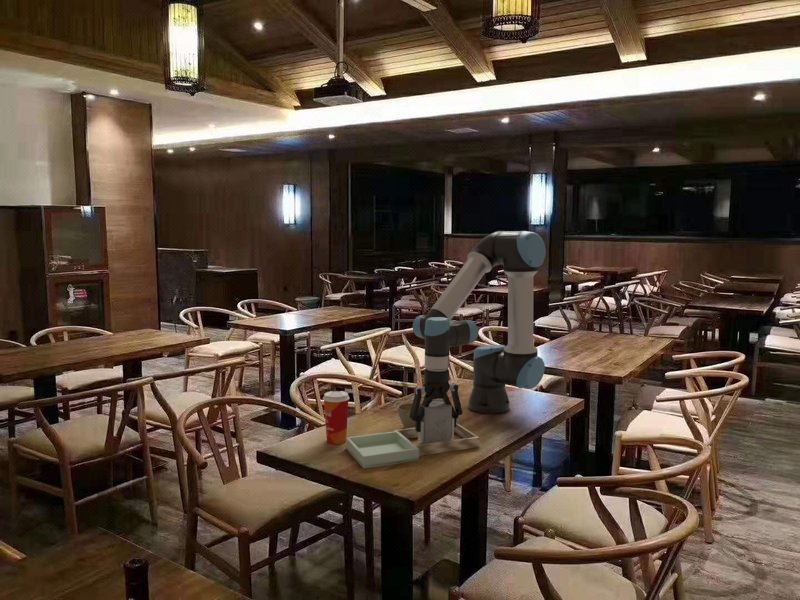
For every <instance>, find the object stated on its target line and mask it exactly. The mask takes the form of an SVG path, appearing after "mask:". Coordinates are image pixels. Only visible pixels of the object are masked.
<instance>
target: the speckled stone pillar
mask: <svg viewBox="0 0 800 600" xmlns="http://www.w3.org/2000/svg"><path fill="white" fill-rule="evenodd" d="M420 404H422V402H420ZM421 406H422V405H421ZM452 406H453V404H452V403H451V405H447V404H446V403H444V401H443V399H441V400H440V399H434V400H432V402H431V403H430V404H429V407H424V406H422V407H424V408H425V415H424V417H423V419H422V421H423V422H424V443H421V442H419V443H420V445H421V444H428V443H436V442H443V441H450V440H452V439H451V423H452Z"/></svg>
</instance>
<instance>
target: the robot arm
mask: <svg viewBox="0 0 800 600" xmlns="http://www.w3.org/2000/svg"><path fill="white" fill-rule="evenodd" d="M546 252H547V250H546V244H545V242H544V240H543V238H542V237H541V236H540V235H539V233H536V232H533V231H527V230H518V231H517V230H513V231H512V230H511V231H509V230H507V231H506V230H497V231H494V232H491V233H490V234H488V235H487V236H486V235H485V236H484V237H483V238H482V239H481V240H480V241H478V243H476V244H475V246H474V247H473V248H472V249H471V250H470V252H469V253H468V254H467V258H466V259H467V260H466V261H465V263H464V264H463V265H462V267H461V268H460V269H459V271H458V272H457V273H456V275H455V276H454V278H452V280H451V282H449V284H448V285H447V287H446V288H445V290H444V291H443V292H442V294H440V296H439V297H438V299H437V300H436V301H435V303H434V304H433V305H432V307H431V308H430V309H429V311H428V312H427V313H426V314H422V315H421V314H420V315H417V316H416V317H415V319H414V320H413V323H412V331H413V333H414V335H415V336H416V337H418V338H421V339H423V340H424V375H423V377H424V384H423V386H421V387H417V386H416V387H414V396H413V401H412V403H413V404H412V408H411V412H410V416H409V417H410V419H412V420H413V421H415V430H416V431H417V432H418V437H417V442H419V443H420V442H421V443H424V422H423V421H422V419H423V417H424V415H425V408H424V407H429V404H430V403H431V402H432V400H440V399H441V400H442V401H444V403H446V404H447V405H451V404H452V402H451V400H450V397H449V395H448V391H450V393H451V398H452V401H453V405H452V423H451V440H455V432H454V427H456V425H457V422H458V421H457V419H458V418H459V416H462V415H463V408H462V404H461V401H460V395H459V385H458V384H457V383H454V382H453V383H451V384H450V383H449V381H450V369H449V368H450V352H451V351H450V348H453V347H458V346H467V345H469V344H472V343H474V342H475V341H476V340H477V339H478V336H479V329H478V326H477V325H476V323H475V322H474V321H472V319H471V320H470V319H467V320H466V319H463V320H453V318H454V316H455V315H456V314H457V312H458V311H459V309H460V308H461V307H462V305H463V304H464V302H465V301H466V300H467V299H468V297H469V296H470V294H471V293H472V292H473V290H474V289H475V288H476V286H477V285H478V283H479V282H480V280H481V279H482V278H483V276H484V275H485V274H486V273H490V272H491V270H492V269H493V268H494V267H495V266H498V265H502V267H503V273H505V274H506V276H507V345H505V344H491V345H490V344H489V345H488V344H487V345H481V346H477V347H476V348H475V349H474V351H473V359H472V360H473V361H472V362H473V363H472V364H473V367H472V369H473V370H472V371H473V379H472V380H473V381H472V383H473V385H472V389H471V392H470V394H469V398H468V401H467V408H468V409H469V410H471V411H473V412H476V413H481V414H502V413H506V412H508V411H510V409H511V408H510V399H509V396H508V393H507V390H506V385H507V386H510V387H515V388H518V389H523V390H524V389H525V390H531V389H534V388H536V387H537V386H538V385H539V384H540V383H541V381H542V379H543V377H544V373H545V369H546V366H545V361H544V360H543V358H542V357H540V356H538V353H539V351H538V348H537V347H536V346H535V345H534V276H535V275H536V274H537V273H538V272H539V267H540V266H542V265H543V264H544V261H545V258H546V255H547V253H546ZM424 392H425V394H424ZM422 395H424V397H423V400H422ZM421 403H422V404H421ZM420 404H421V405H422V406H424V407H422V406H420ZM419 406H420V408H419ZM421 443H420V444H421Z"/></svg>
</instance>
